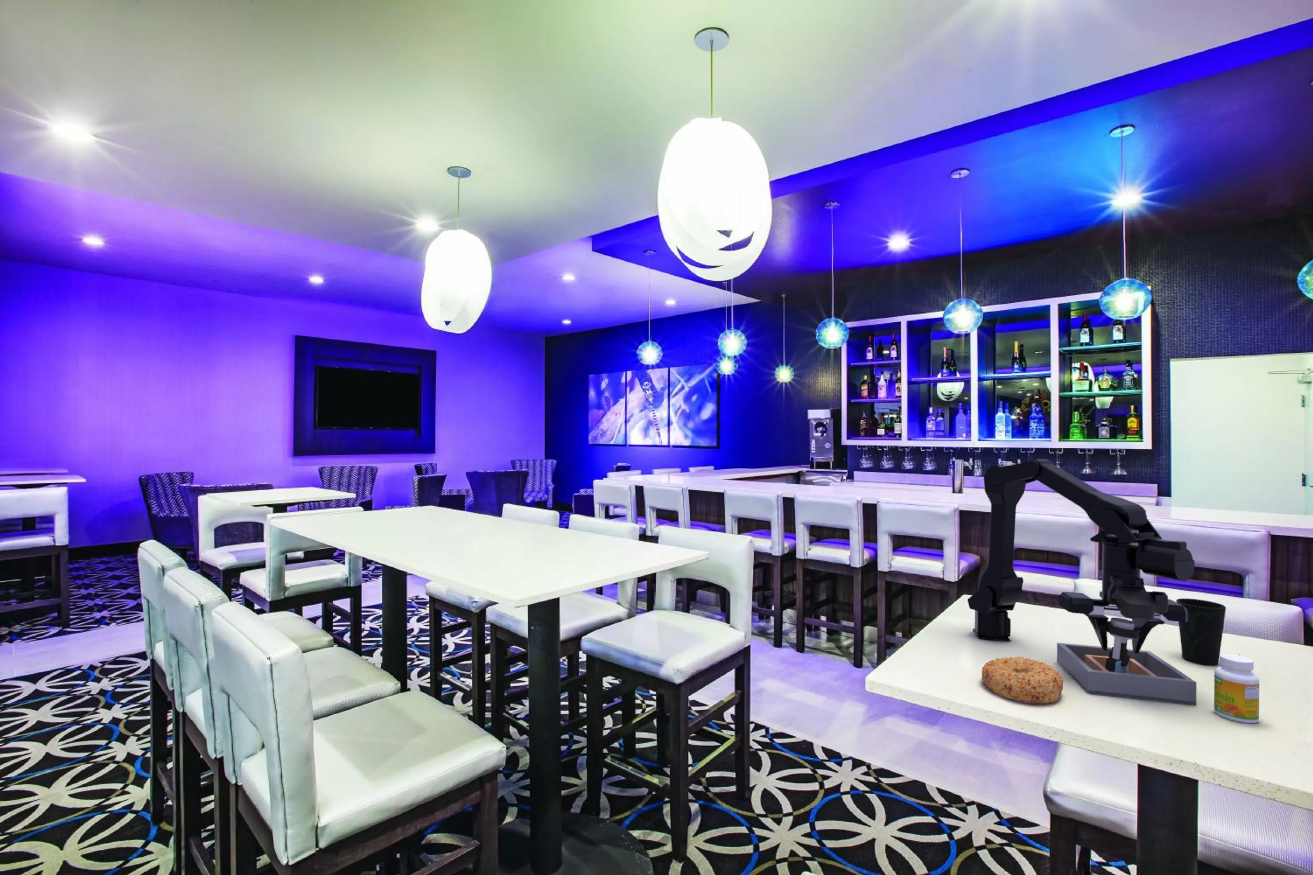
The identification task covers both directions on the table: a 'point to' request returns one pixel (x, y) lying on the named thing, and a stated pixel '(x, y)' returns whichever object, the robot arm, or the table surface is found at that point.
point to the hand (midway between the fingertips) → (1120, 651)
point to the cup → (1202, 631)
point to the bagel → (1023, 680)
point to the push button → (1120, 644)
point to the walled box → (1126, 675)
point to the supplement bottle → (1236, 689)
